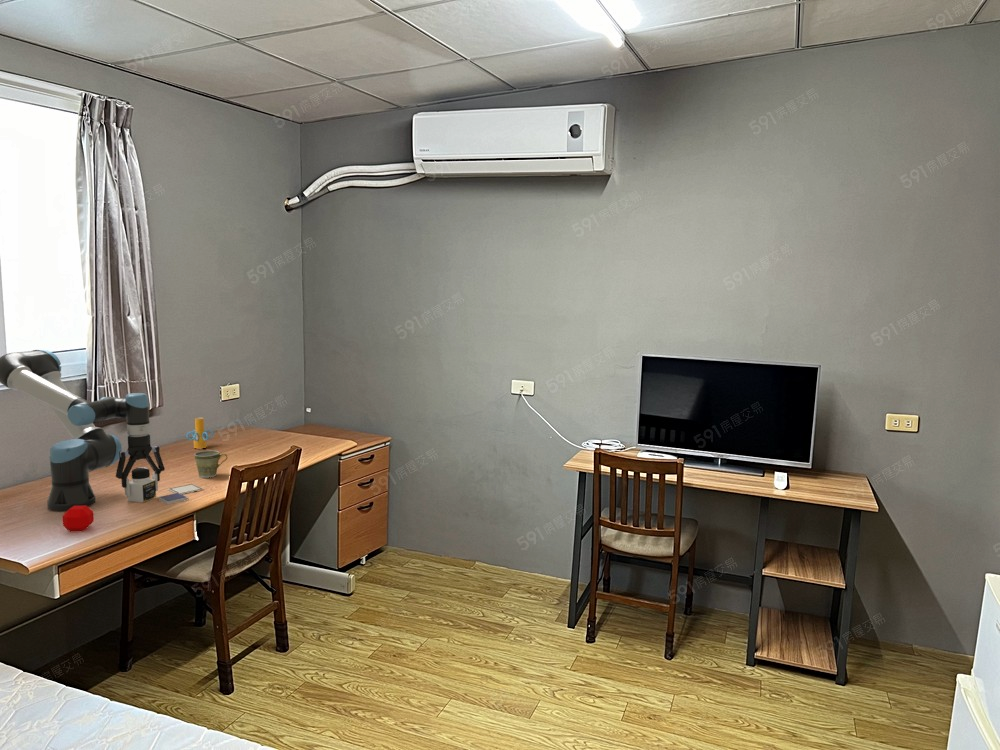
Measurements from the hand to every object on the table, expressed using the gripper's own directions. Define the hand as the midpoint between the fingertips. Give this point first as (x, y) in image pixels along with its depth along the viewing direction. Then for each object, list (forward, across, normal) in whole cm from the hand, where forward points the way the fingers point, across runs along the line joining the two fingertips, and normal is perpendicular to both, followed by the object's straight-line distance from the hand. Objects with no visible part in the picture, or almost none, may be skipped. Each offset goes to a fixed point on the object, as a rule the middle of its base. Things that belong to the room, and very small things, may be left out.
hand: (141, 492), depth 269 cm
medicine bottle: (+3, 0, 0) cm, 3 cm away
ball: (+3, -28, -18) cm, 33 cm away
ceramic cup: (+3, +34, +12) cm, 36 cm away
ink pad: (+3, +8, -8) cm, 12 cm away
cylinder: (+3, +52, +62) cm, 82 cm away
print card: (+3, +17, 0) cm, 17 cm away
